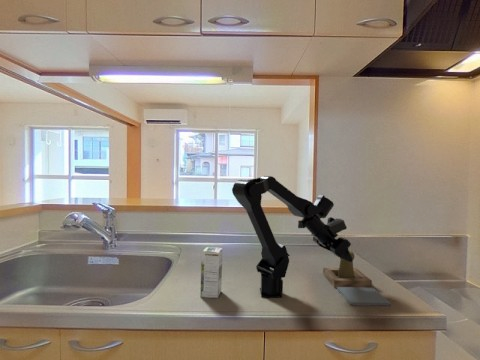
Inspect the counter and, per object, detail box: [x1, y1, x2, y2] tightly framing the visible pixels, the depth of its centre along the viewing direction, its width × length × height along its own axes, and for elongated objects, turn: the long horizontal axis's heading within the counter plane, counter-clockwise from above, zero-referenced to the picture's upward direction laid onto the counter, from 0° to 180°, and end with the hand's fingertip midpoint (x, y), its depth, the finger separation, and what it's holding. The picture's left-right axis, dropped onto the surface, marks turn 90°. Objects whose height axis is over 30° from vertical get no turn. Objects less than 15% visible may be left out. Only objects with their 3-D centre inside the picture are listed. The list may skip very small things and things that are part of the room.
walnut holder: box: [322, 267, 373, 289], centre depth 111 cm, size 13×13×2 cm
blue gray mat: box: [336, 286, 391, 307], centre depth 97 cm, size 12×12×1 cm
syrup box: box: [199, 246, 224, 299], centre depth 97 cm, size 6×6×14 cm
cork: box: [338, 250, 355, 278], centre depth 111 cm, size 6×6×11 cm
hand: (345, 257), depth 111 cm, fingers open, 9 cm apart
